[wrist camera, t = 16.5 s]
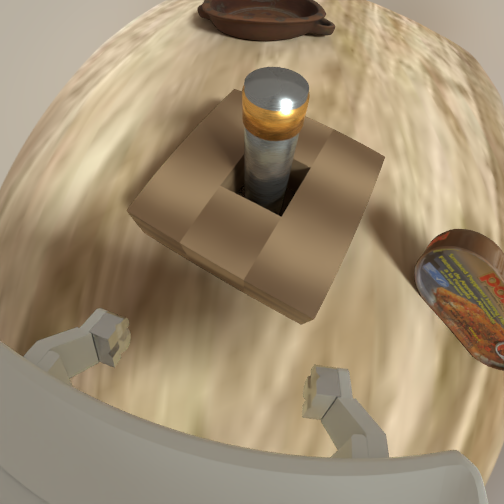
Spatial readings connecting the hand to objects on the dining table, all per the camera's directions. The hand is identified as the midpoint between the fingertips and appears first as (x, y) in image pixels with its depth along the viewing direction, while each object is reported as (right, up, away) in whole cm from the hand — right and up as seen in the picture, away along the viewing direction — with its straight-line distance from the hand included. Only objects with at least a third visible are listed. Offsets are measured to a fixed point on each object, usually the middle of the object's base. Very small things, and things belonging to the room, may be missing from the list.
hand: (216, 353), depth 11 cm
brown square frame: (+2, +8, +11) cm, 14 cm away
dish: (+3, +39, +23) cm, 45 cm away
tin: (+20, -2, +9) cm, 22 cm away
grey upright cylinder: (+2, +8, +11) cm, 14 cm away
